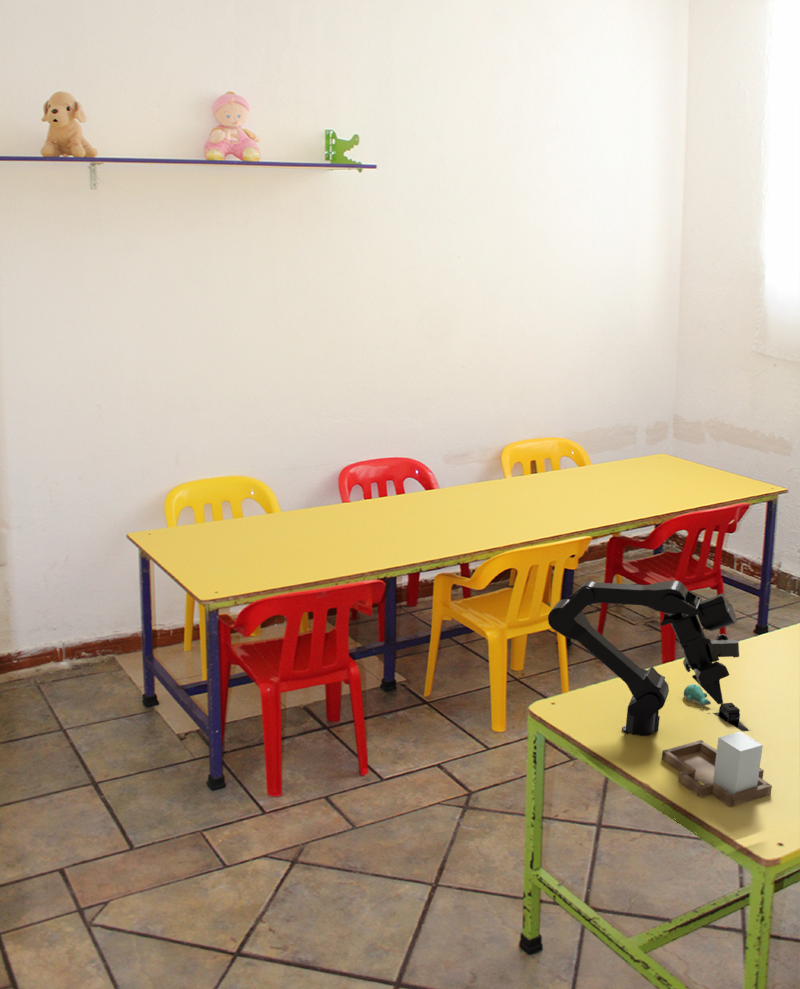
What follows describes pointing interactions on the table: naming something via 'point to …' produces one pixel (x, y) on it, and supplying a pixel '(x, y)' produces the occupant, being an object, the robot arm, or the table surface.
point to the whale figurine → (696, 695)
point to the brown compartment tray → (708, 773)
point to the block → (737, 762)
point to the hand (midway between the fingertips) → (720, 703)
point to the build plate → (731, 715)
